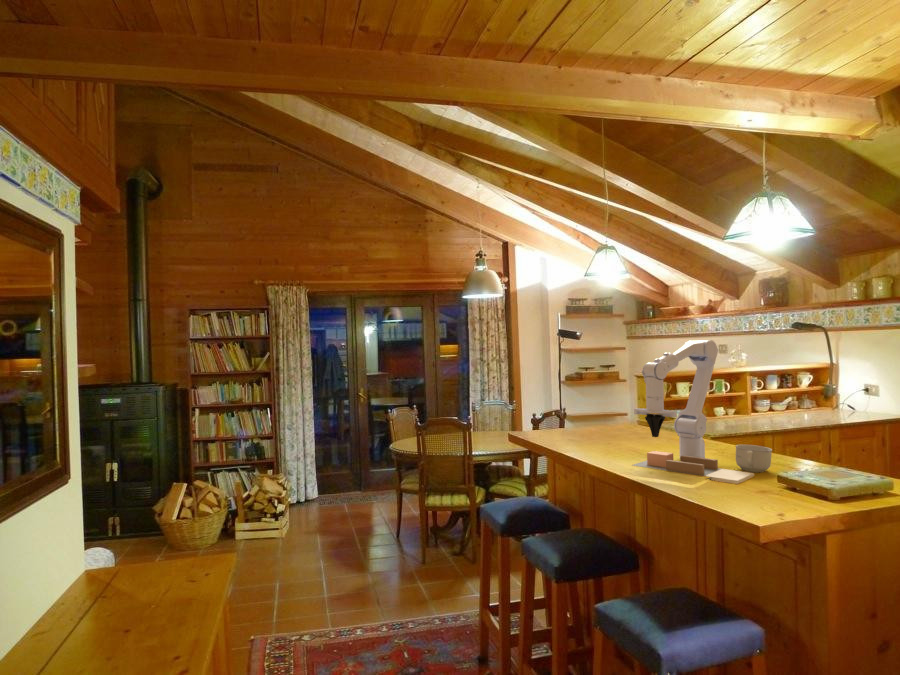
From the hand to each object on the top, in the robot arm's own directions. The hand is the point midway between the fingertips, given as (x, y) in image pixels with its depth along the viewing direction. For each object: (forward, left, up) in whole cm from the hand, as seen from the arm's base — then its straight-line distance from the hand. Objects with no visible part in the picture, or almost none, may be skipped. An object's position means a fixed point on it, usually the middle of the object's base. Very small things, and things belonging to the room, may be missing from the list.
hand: (655, 436), depth 212 cm
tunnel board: (0, +13, -10) cm, 16 cm away
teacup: (-14, +27, -11) cm, 32 cm away
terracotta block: (0, +2, -9) cm, 10 cm away
